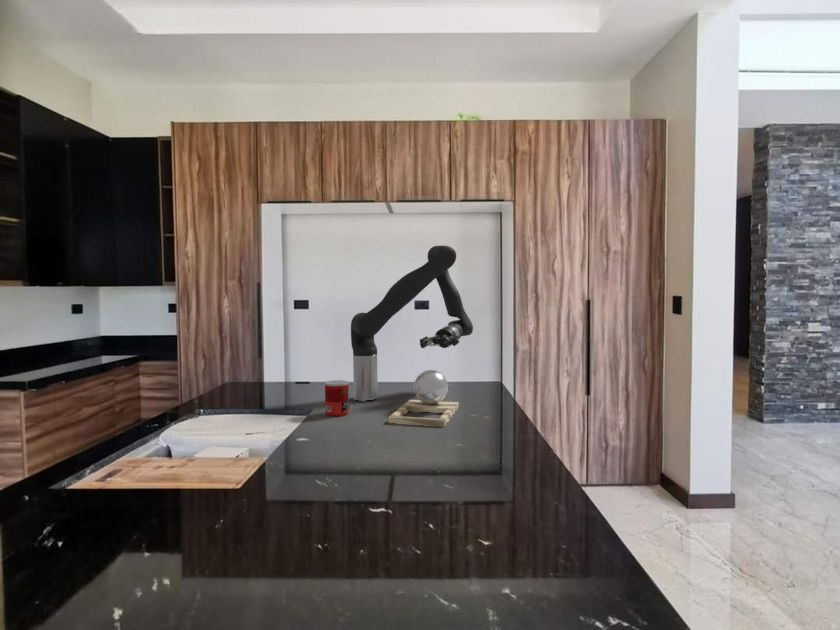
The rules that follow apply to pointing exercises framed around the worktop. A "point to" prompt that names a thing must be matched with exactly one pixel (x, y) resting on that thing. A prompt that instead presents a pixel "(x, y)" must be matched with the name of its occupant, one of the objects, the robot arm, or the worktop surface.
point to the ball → (431, 387)
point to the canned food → (336, 398)
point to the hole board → (419, 406)
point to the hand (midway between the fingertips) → (432, 345)
